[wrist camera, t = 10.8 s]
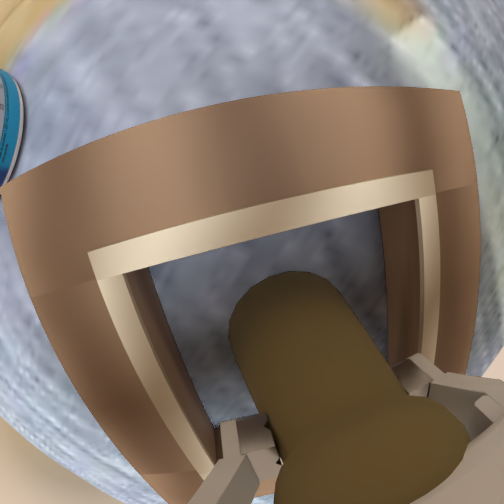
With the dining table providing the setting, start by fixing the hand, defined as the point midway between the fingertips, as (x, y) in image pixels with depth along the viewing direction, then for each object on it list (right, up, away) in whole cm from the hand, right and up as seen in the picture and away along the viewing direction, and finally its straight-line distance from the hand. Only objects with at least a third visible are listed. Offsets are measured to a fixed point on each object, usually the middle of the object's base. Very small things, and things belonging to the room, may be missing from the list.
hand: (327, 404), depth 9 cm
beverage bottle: (-17, +11, +1) cm, 21 cm away
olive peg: (-1, +1, +5) cm, 6 cm away
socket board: (-1, +1, +5) cm, 5 cm away
